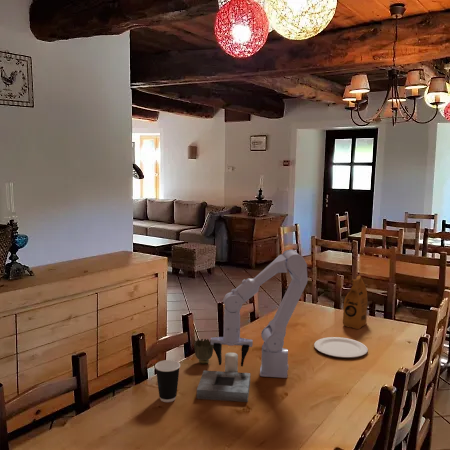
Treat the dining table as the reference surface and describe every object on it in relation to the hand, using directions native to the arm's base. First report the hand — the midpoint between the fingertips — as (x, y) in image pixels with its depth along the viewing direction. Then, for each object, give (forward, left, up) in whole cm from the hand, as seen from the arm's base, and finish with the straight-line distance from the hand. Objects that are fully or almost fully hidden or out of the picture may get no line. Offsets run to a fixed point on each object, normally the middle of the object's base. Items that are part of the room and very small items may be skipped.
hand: (231, 364), depth 168 cm
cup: (+11, -8, -4) cm, 14 cm away
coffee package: (-51, -59, -4) cm, 78 cm away
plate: (-41, -28, -4) cm, 50 cm away
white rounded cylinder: (0, 0, -4) cm, 4 cm away
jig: (+1, +12, -3) cm, 13 cm away
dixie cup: (+18, +20, -4) cm, 27 cm away
